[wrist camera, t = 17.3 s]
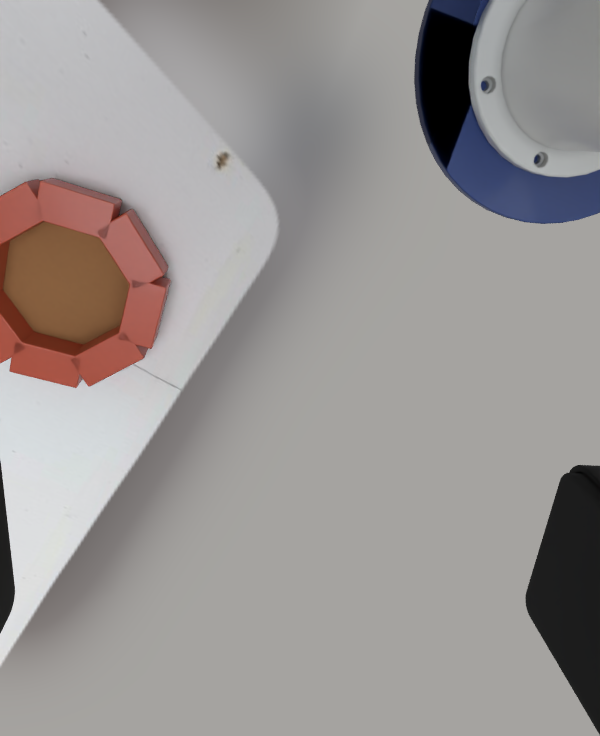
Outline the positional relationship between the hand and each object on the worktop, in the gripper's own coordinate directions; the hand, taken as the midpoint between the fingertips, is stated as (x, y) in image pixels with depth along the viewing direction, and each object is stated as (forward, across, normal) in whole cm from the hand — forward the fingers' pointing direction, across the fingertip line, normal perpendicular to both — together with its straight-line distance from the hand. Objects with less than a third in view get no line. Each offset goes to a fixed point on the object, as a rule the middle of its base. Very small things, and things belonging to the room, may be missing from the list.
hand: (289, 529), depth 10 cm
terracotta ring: (+26, +11, +3) cm, 28 cm away
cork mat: (+26, +11, +3) cm, 29 cm away
